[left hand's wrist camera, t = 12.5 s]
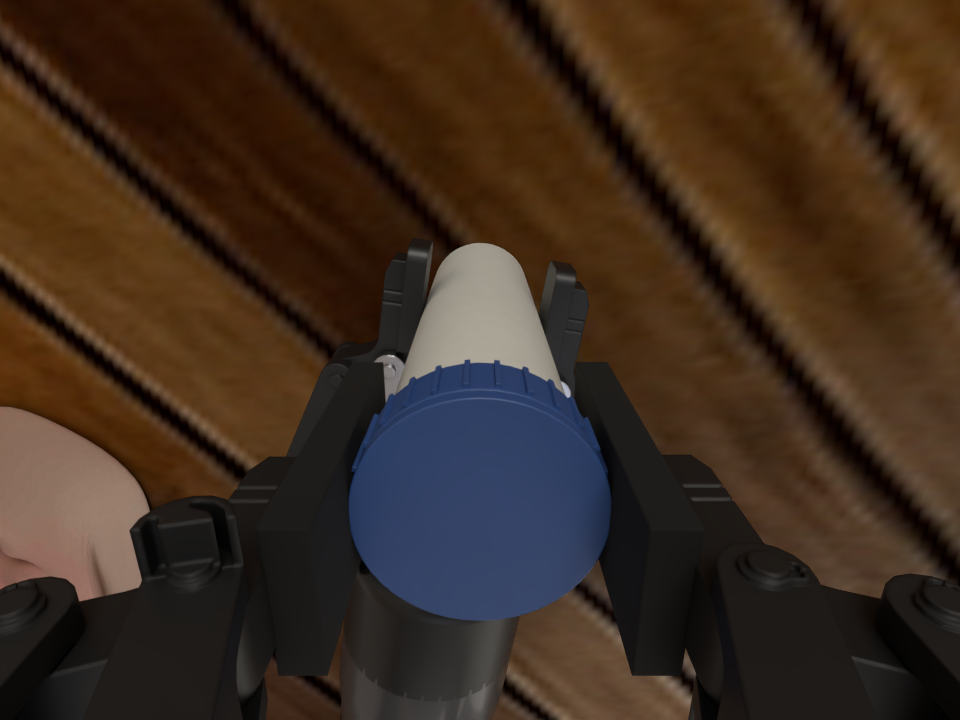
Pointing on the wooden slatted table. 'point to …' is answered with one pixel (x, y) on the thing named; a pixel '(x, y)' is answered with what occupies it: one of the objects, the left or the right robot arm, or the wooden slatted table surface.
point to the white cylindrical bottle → (480, 317)
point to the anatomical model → (65, 508)
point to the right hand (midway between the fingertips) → (491, 256)
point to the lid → (479, 493)
